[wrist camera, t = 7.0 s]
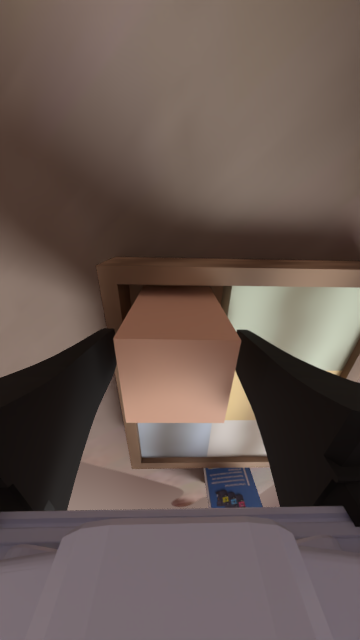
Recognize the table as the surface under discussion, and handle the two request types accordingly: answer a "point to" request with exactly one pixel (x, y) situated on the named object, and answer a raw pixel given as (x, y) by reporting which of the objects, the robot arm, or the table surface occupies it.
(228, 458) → the puzzle tray
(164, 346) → the terracotta block
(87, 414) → the robot arm
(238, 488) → the ink cartridge box
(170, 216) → the table surface
